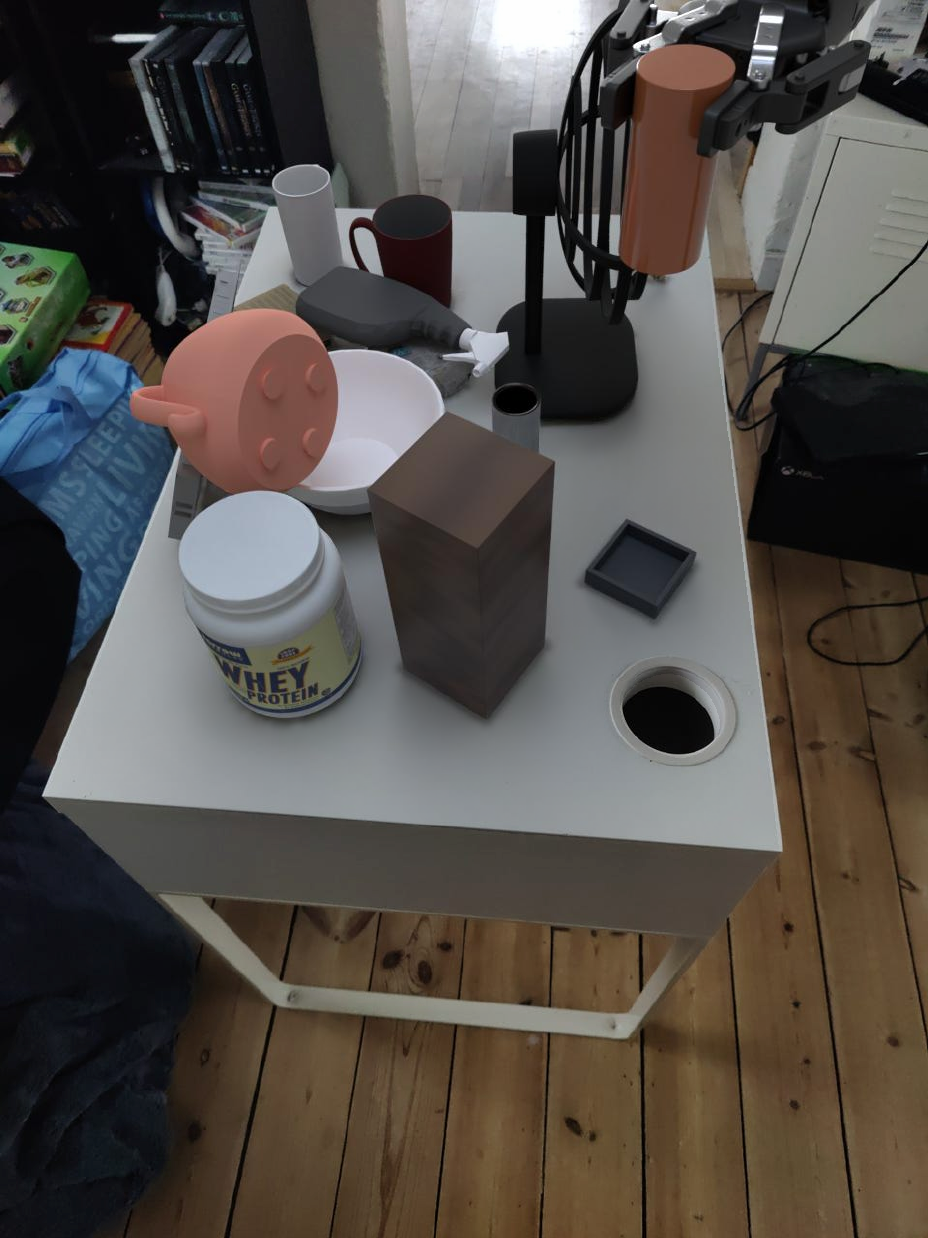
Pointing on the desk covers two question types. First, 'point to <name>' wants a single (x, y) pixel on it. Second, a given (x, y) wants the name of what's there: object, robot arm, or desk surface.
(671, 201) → the copper brown cylinder
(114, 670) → the desk surface
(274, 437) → the teapot
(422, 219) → the mug
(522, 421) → the gray hollow tube
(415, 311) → the spray bottle
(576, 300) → the desk fan
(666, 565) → the tray
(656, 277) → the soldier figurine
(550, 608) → the desk surface
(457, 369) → the stone
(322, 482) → the bowl
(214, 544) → the supplement tub
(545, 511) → the plant stand
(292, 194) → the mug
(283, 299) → the ink box
